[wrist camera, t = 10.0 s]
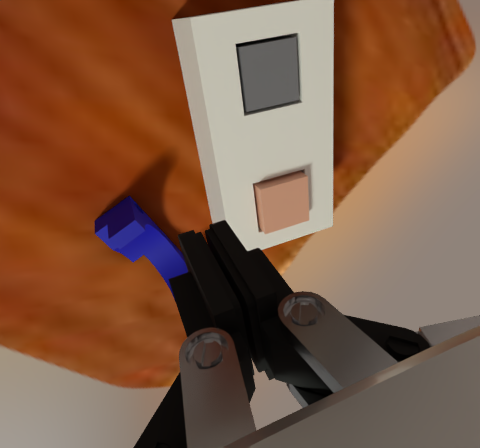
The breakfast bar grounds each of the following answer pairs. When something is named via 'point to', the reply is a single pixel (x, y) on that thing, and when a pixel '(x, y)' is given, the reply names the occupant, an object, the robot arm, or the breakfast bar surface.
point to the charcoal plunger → (268, 72)
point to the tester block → (261, 113)
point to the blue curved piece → (140, 238)
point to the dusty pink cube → (281, 201)
